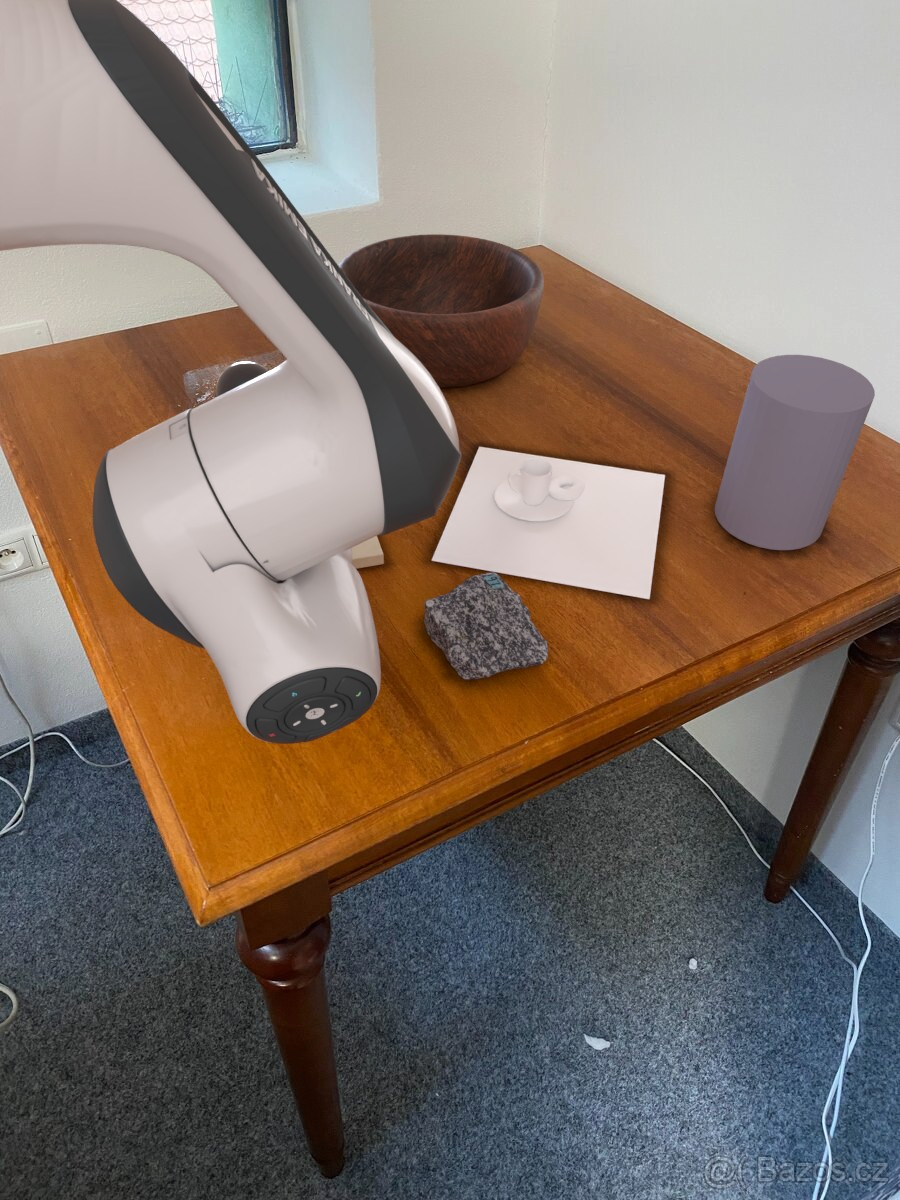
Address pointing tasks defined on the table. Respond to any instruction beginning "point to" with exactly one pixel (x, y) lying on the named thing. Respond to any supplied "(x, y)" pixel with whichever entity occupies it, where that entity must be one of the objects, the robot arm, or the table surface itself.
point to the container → (791, 450)
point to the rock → (484, 628)
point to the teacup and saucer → (556, 522)
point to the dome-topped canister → (237, 376)
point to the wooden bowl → (451, 301)
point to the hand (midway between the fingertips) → (251, 421)
